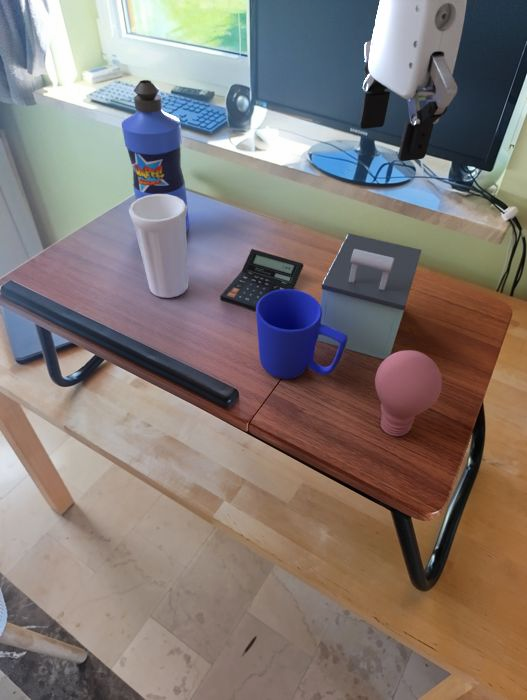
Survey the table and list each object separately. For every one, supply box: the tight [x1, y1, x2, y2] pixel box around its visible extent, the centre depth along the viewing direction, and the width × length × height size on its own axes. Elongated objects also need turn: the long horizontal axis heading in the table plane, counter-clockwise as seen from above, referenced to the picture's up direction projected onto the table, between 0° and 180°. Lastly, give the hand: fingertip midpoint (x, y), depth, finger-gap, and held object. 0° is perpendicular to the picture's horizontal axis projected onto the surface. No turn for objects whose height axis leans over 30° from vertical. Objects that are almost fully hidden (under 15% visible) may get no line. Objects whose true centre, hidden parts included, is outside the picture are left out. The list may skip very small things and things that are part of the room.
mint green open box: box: [317, 289, 405, 361], centre depth 69 cm, size 13×11×10 cm
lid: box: [320, 232, 422, 311], centre depth 63 cm, size 14×11×5 cm
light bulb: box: [374, 349, 443, 437], centre depth 55 cm, size 7×7×12 cm
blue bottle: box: [121, 79, 190, 233], centre depth 81 cm, size 9×9×25 cm
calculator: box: [219, 248, 304, 312], centre depth 77 cm, size 9×12×3 cm
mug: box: [255, 289, 348, 380], centre depth 62 cm, size 8×12×10 cm
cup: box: [128, 194, 189, 299], centre depth 72 cm, size 8×8×14 cm
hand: (389, 142), depth 56 cm, fingers open, 9 cm apart
